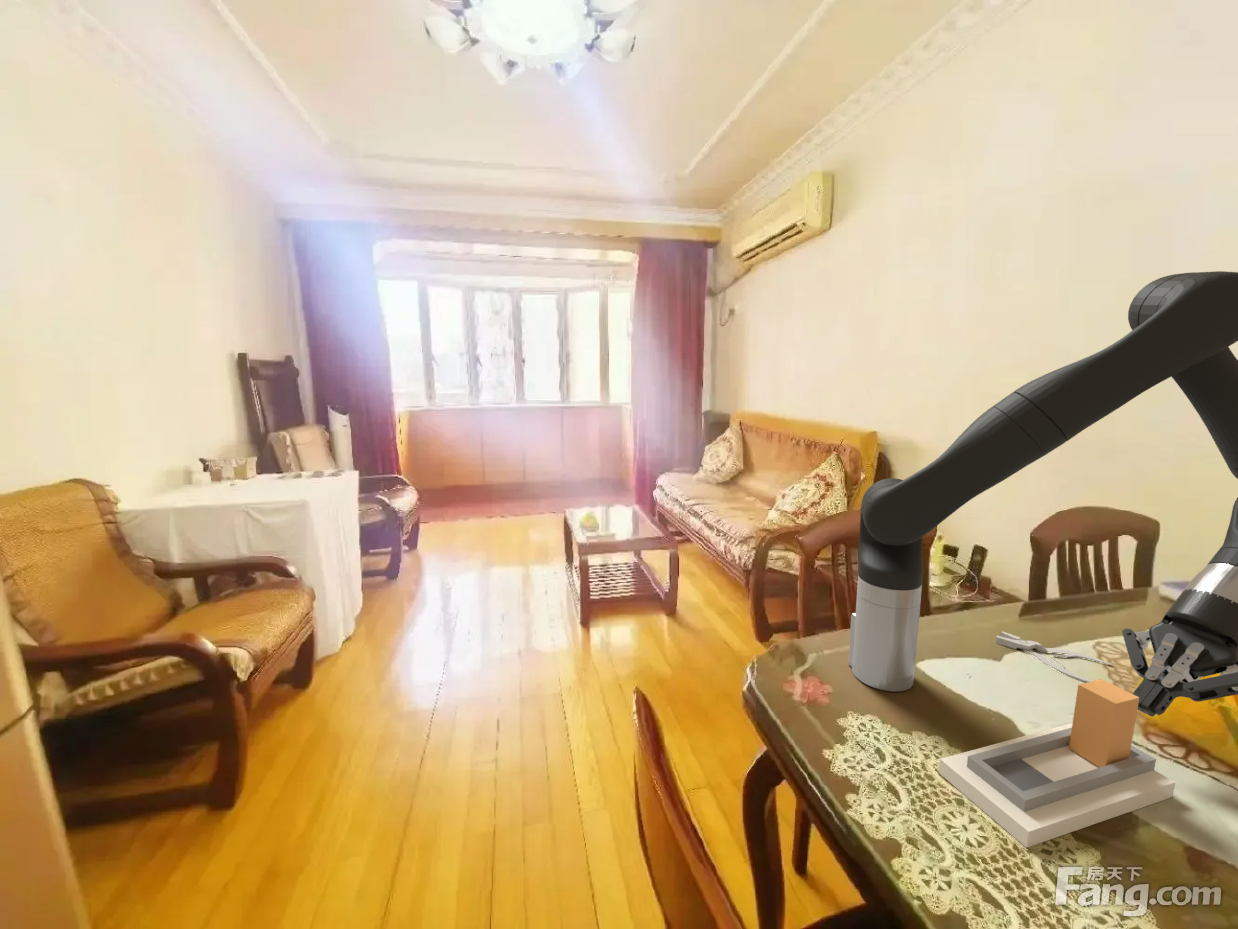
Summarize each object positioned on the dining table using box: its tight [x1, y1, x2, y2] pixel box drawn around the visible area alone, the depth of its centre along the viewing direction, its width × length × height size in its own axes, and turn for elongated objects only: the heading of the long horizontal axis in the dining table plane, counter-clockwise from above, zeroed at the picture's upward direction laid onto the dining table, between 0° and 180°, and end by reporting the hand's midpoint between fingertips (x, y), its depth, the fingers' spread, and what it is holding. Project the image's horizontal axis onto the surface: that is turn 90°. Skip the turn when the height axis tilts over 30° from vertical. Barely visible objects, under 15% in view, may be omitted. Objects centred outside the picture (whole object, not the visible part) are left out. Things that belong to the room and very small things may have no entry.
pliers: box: [995, 631, 1113, 683], centre depth 91 cm, size 10×2×15 cm
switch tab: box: [1069, 678, 1139, 767], centre depth 64 cm, size 4×4×9 cm
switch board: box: [938, 722, 1176, 848], centre depth 63 cm, size 11×23×4 cm, turn 106°
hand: (1142, 710), depth 66 cm, fingers closed
